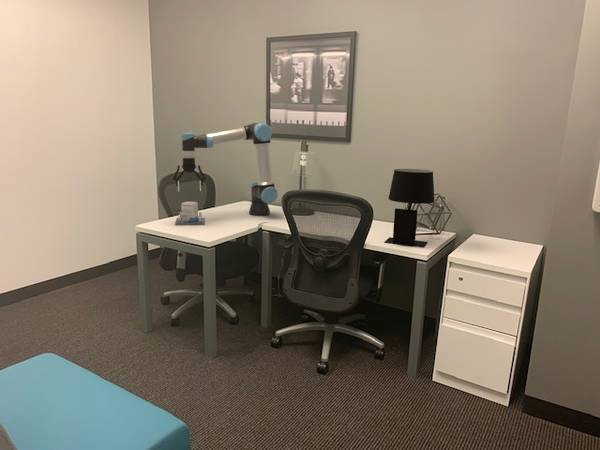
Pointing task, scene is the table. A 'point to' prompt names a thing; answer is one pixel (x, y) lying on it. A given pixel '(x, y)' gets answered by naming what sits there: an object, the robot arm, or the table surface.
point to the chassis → (198, 222)
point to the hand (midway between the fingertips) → (189, 191)
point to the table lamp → (410, 190)
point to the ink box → (189, 211)
